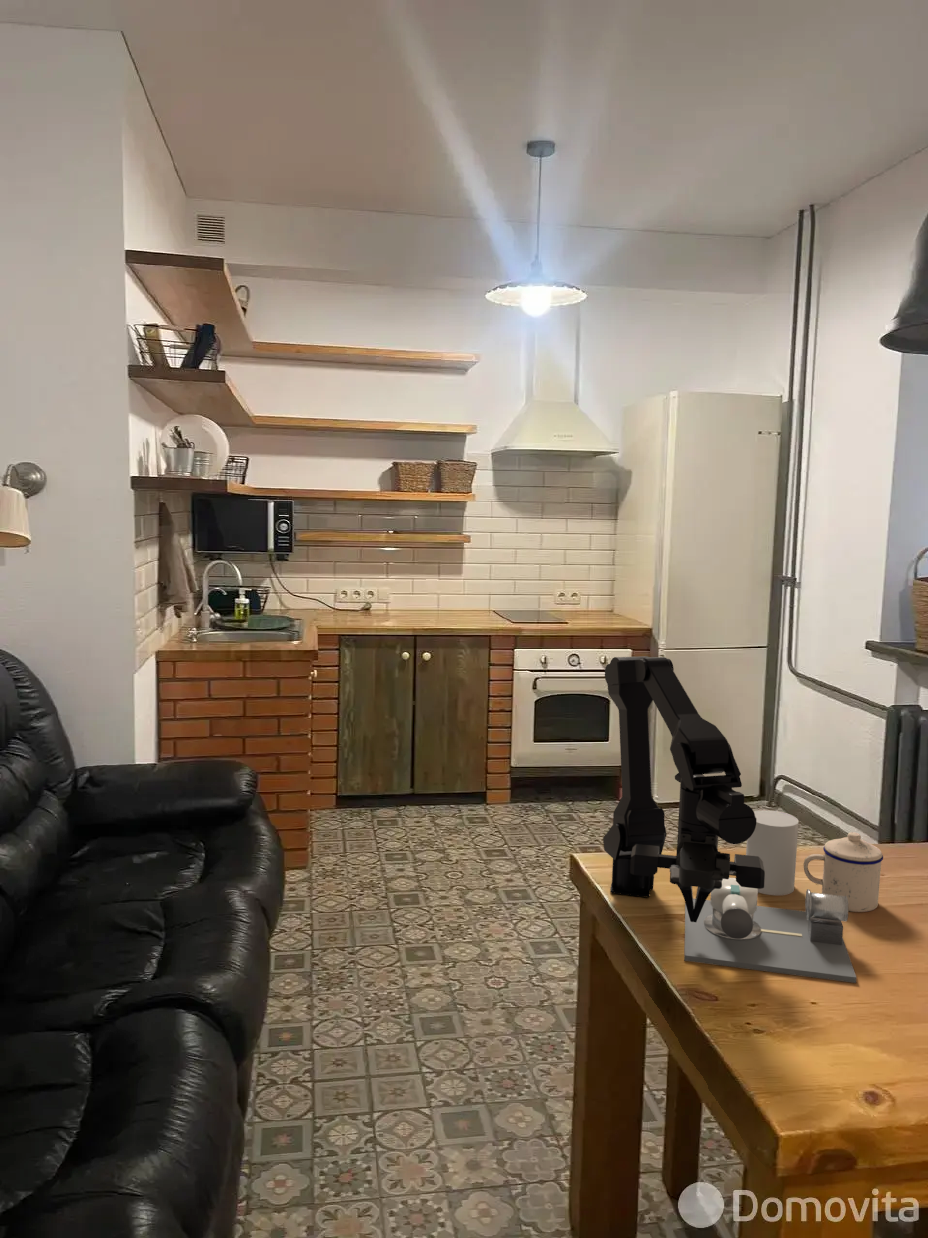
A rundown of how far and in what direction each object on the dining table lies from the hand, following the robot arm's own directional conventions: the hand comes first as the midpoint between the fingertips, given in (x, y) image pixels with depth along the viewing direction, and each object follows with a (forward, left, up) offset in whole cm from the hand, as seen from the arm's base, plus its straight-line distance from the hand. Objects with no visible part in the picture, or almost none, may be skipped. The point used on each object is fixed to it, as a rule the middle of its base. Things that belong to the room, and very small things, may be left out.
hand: (693, 921), depth 136 cm
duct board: (+10, +5, -4) cm, 12 cm away
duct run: (+19, +6, -4) cm, 21 cm away
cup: (+13, +26, -4) cm, 30 cm away
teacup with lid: (+24, +23, -4) cm, 34 cm away
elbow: (+6, +3, 0) cm, 7 cm away
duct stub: (+6, +6, -4) cm, 10 cm away
